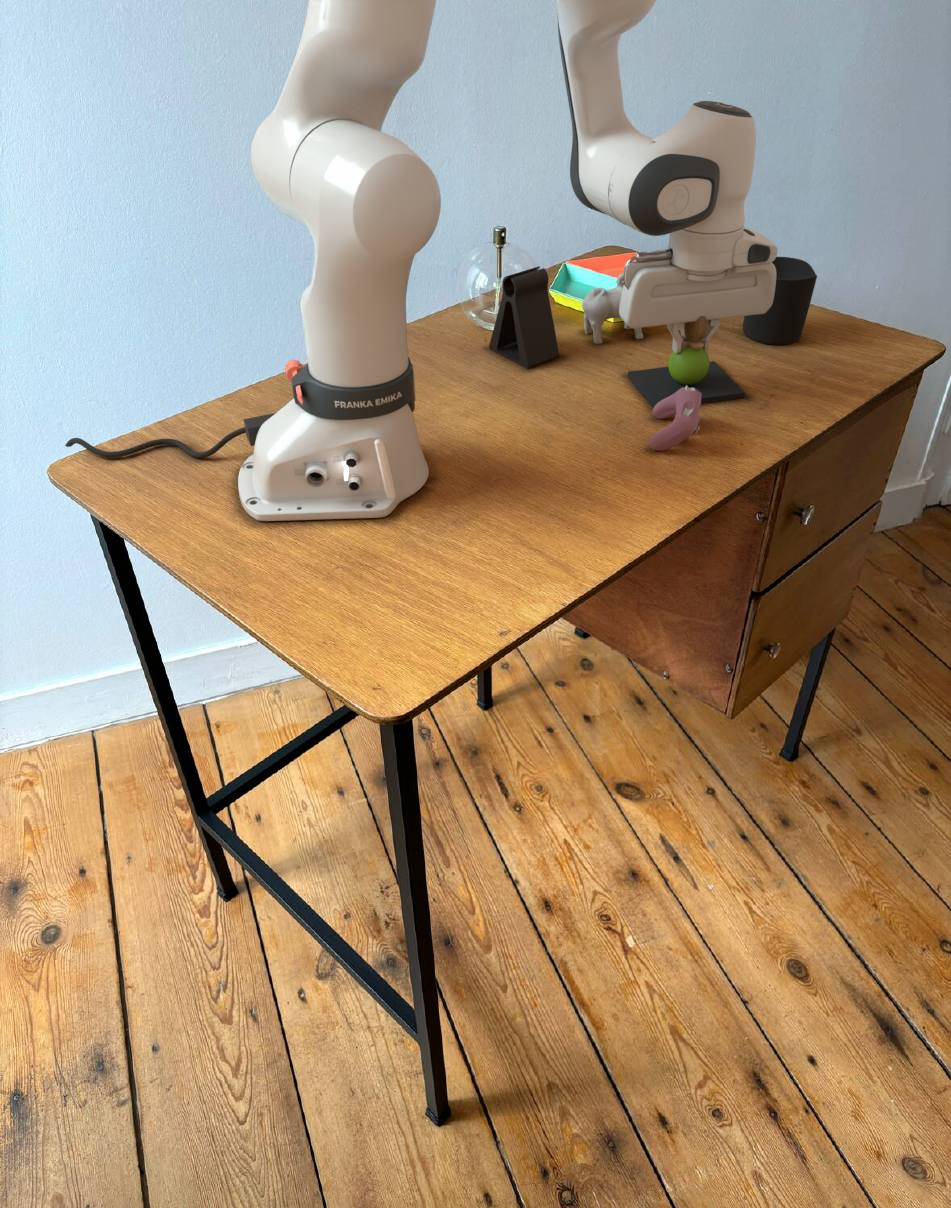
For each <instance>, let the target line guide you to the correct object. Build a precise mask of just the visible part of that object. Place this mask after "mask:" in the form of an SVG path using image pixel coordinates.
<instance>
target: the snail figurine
mask: <svg viewBox="0 0 951 1208" xmlns="http://www.w3.org/2000/svg"><path fill="white" fill-rule="evenodd" d="M706 331H707V322H706V318H705V316H700V317H699V318H698V319H697V321H695V322H687V323H683V329H682V330H679V333H680V336H684V337H685V339H687V340H688V341H689V342H688V346H687V349H686V350H684V351H682V352H681V353H678V354H676V353H675V352H674V351H673V350H672V352H671V354H670V355H669V358H668V364H667V365H668V366H667V367H669V371H670V374H671V376H672V377H673V378H674V379H675V380H676V381H677V382H679V383H681V384H686V385H690V384H695V383H697V382H699V381H701V380H702V379H703V378H704V377H705V375H706V374H707V372H708V370H709V365H710V362H711V361H710V357H709V354H708V351H707V350H704V349H702V347H703V346H704V344H703V343H701V342H700V341H701V340H702V339H703V338H704V337H705V335H706Z"/></svg>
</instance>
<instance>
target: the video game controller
mask: <svg viewBox="0 0 951 1208" xmlns="http://www.w3.org/2000/svg"><path fill="white" fill-rule="evenodd" d="M701 396H702V393H701V392H699V390H697V389H695V388H688V386H687V385H686V387H685V388H680V389H679V390H678V391H677V392H675V393H674V394H672V395H671V396H669V397H667V398H665V399H663V400H661V401H660V402H658V403H657V404H656V405H655V406H654V408H652V415H653V416H654V418H655V419H660V420H661V419H662V420H663V419H664V420H665V419H669V418H673V417H674V419H673V421H671V423H669V424H668V425H666V426H665V427H664V428H661V429H660V430H658V431H656V432H655V433H654V434H653V435H652V436H651V437H649V439H648V447H649V449H650V450H652V451H656V452H659V451H665V450H666V451H667V450H669V449H672V448H675V447H676V446H677V445H680V444H681V443H682V442H684V441H686V440H688V439H690V437H691V436H692V435H696V434H697V433H698V432H699V431H700V425H699V422H700V419H701V415H700V409H701V406H702V403H701Z"/></svg>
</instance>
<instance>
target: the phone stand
mask: <svg viewBox="0 0 951 1208" xmlns="http://www.w3.org/2000/svg"><path fill="white" fill-rule="evenodd" d="M501 287H502V295H501V300H500V304H499V307H498V311H497V314H496V318H495V322H494V326H493V329H492V333H491V337H490V341H489V345H488V348H489V349H490V351H493V352H494V353H497V354H499V355H500V356H502V357H504V358H506V359H508V360H510V361H511V362H514V363H515V364H517V365H519V366H521V367H523V368H525V369H530V368H533V367H536V366H538V365H541V364H544V363H546V362H549V361H552V360H555V359H557V358H559V357H560V349H559V345H558V339H557V334H556V329H555V323H554V317H553V311H552V307H551V301H550V296H549V274H548V271H547V270H546V269H545V267H543V268H541V266H539V265H538V266H535V267H532V268H528V269H526V270H522V271H518V272H515V273H513V274H508V275H505V276H504V277H503V278H502V282H501Z"/></svg>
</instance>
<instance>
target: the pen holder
mask: <svg viewBox="0 0 951 1208" xmlns="http://www.w3.org/2000/svg"><path fill="white" fill-rule="evenodd" d="M772 263H773V264H774V266H775V268H776V286H775V294H774V299H773V303H772V306H771V307H770V308H769V310H768V311H767V312H766V313H764V314H758V315H749V316H743V325H742V331H743V334H744V335H745V336H746V337H747V338H748V339H750V340H752V341H754V342H757V343H760V344H764V345H765V344H766V345H770V346H771V345H772V346H774V345H775V346H784V345H790V344H793V343H795V342H797V341H798V340H799V339H800V338H801V337H802V335H803V331H804V328H805V323H806V322H807V321H806V320H807V317H808V313H809V309H810V305H811V302H812V297H813V293H814V290H815V286H816V282H817V278H818V275H817V273H816V272H815V270H814V268H813V267H812V265H811V264H810V263H809V262H807V261H805V260H803V259H800V258H795V257H788V256H776V258H775V260H774V261H773V262H772Z"/></svg>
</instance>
